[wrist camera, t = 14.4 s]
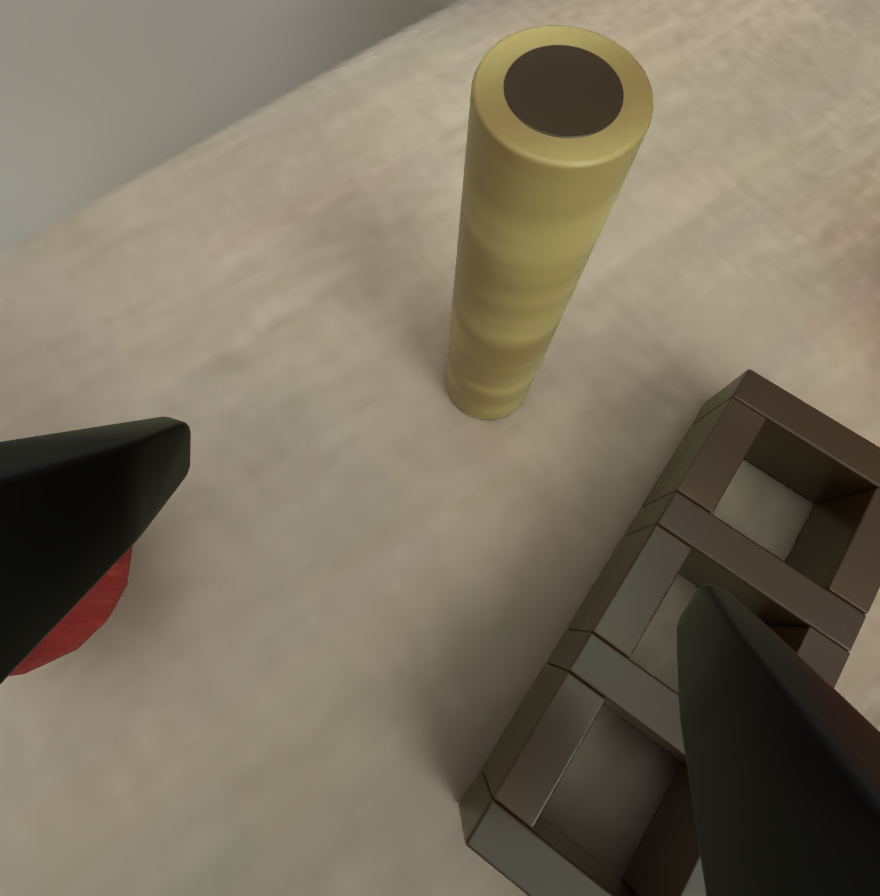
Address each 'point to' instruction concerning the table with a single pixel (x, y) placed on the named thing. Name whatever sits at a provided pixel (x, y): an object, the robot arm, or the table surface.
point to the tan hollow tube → (535, 199)
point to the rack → (635, 603)
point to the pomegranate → (81, 618)
